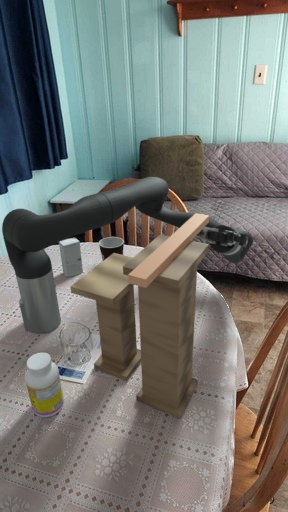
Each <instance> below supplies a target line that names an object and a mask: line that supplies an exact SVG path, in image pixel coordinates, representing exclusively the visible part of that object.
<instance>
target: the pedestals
mask: <svg viewBox="0 0 288 512" xmlns="http://www.w3.org/2000/svg"><path fill="white" fill-rule="evenodd" d="M169 237H170V236H169V235H163V234H159V235H158V236H157V237H155V238H154V239H153V240H152V241H151V242H149V243H148V244H147V245H146V246H145V247H144V248H142V250H140V251H139V252H138V253H137V254H136V255H134V256H129V255H125V254H123V255H121V254H116V253H113V254H112V255H110V256H109V257H108V258H107V259H105V260H104V261H103V260H102V262H100V263H99V264H97V265H96V266H94V267H93V268H92V269H91V270H90V271H88V272H86V274H85V275H83V276H82V277H80V278H79V279H78V280H76V282H74V283H73V284H72V285H70V293H71V294H73V295H76V296H80V297H84V298H87V299H90V300H94V301H95V306H96V313H97V314H96V315H97V323H98V325H97V326H98V333H99V340H100V341H99V342H100V352H101V355H100V356H99V357H98V359H97V360H96V361H95V362H94V363H93V369H94V370H97V371H100V372H102V373H105V374H107V375H110V376H112V377H115V378H117V379H120V380H122V381H124V382H128V380H130V378H131V377H132V375H133V374H134V373H135V371H136V370H137V368H139V366H140V365H141V388H140V389H139V391H137V394H136V396H135V398H136V401H137V402H139V403H142V404H143V405H146V406H148V407H151V408H153V409H155V410H157V411H160V412H163V413H165V414H167V415H169V416H171V417H174V418H176V419H178V420H180V419H181V417H182V415H183V413H184V411H185V409H186V407H187V406H188V403H189V401H190V399H191V398H192V396H193V394H194V391H195V390H196V387H197V386H198V382H199V381H198V379H197V378H194V377H193V362H194V359H193V358H194V341H195V340H194V339H195V338H194V337H195V323H196V322H195V321H196V319H195V317H196V297H197V278H198V275H197V274H198V265H199V264H200V263H201V261H202V260H203V259H204V258H205V257H206V255H208V253H209V250H210V249H209V248H210V245H209V243H204V242H200V241H194V240H191V241H190V242H189V243H188V245H187V246H186V247H185V248H184V249H183V250H182V251H181V252H180V253H179V254H178V255H177V256H176V257H175V258H174V259H173V260H172V261H171V262H170V263H169V264H168V265H167V266H166V268H165V269H164V270H163V271H162V272H161V273H160V274H159V275H158V276H157V277H156V278H155V279H154V280H153V281H152V282H151V283H150V284H149V285H148V286H147V287H146V288H144V287H141V286H137V295H138V297H137V298H138V315H139V317H138V318H139V338H140V339H139V342H140V349H138V347H137V345H138V344H137V327H136V309H135V307H136V306H135V288H134V287H135V285H133V284H130V283H129V281H128V274H130V273H131V272H132V271H133V270H134V269H135V268H136V267H137V266H138V265H139V264H141V263H142V262H143V261H144V260H145V259H146V258H147V257H148V256H149V255H150V254H152V253H153V252H154V251H155V250H156V249H157V248H158V247H159V246H160V245H161V244H163V243H164V242H165V241H166V240H167V239H168V238H169Z"/></svg>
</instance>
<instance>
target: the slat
mask: <svg viewBox="0 0 288 512" xmlns="http://www.w3.org/2000/svg"><path fill="white" fill-rule="evenodd" d="M194 213H195V214H194V215H193V216H192V217H191V218H190V219H189V220H188V221H187V222H186V223H184V224H183V225H182V226H181V227H180V228H178V229H177V230H176V231H174V232H173V233H172V234H171V235H170V236H169V238H168V239H167V240H166V241H165V242H164V243H163V244H161V245H160V246H159V247H158V248H157V249H156V250H155V251H154V252H153V253H152V254H150V255H149V256H148V257H147V258H146V259H145V260H144V261H143V262H142V263H141V264H139V265H138V266H137V267H136V268H135V269H134V270H133V271H132V272H131V273H130V274H128V281H129V283H130V284H133V285H134V286H137V287H138V286H141V287H144V288H146V287H147V286H148V285H149V284H150V283H151V282H152V281H153V280H154V279H155V278H156V277H157V276H158V275H159V274H160V273H161V272H162V271H163V270H164V269H165V268H166V266H167V265H168V264H169V263H170V262H171V261H172V260H173V259H174V258H175V257H176V256H177V255H178V254H179V253H180V252H181V251H182V250H183V249H184V248H185V247H186V246H187V245H188V243H189V242H190V241H193V240H194V237H195V236H196V235H197V234H198V233H199V232H200V231H201V230H202V229H203V228H204V227H205V226H206V225H207V224H208V223H209V218H210V215H208V214H203V213H199V214H198V212H194Z"/></svg>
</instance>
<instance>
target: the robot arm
mask: <svg viewBox="0 0 288 512" xmlns="http://www.w3.org/2000/svg"><path fill="white" fill-rule="evenodd" d="M169 190H170V187H169V185H168V183H167V181H166V180H164V179H163V178H161V177H158V176H147V177H143V178H141V179H138V180H136V181H133V182H131V183H129V184H126V185H123V186H120V187H116V188H113V189H110V190H106V191H101V192H97V193H92V194H89V195H86V196H83V197H81V198H79V199H78V200H77V201H75V202H74V203H73V204H71V205H70V206H69V207H68V208H66V209H65V210H62V211H61V210H60V211H59V212H53V213H50V214H42V215H41V214H37V213H35V212H33V211H31V210H28V209H26V208H16V209H13V210H11V211H9V212H8V213H7V214H6V215H5V217H4V218H3V221H2V226H1V232H2V233H1V234H2V237H3V241H4V245H5V249H6V252H7V257H8V260H9V263H10V264H11V266H12V268H13V270H14V274H15V277H16V282H17V287H18V291H19V295H20V299H19V301H18V304H19V309H20V314H21V318H22V322H23V326H24V331H28V332H31V333H33V334H46V333H50V332H52V331H54V330H56V329H57V328H58V327H59V326H60V325H61V323H62V318H61V317H62V316H61V312H60V306H59V301H58V295H57V290H56V289H57V288H56V284H55V276H54V269H53V265H52V261H51V260H52V259H51V257H50V255H48V254H47V252H46V250H45V249H47V248H49V247H51V246H53V245H55V244H59V242H60V241H63V240H66V239H70V238H72V237H74V236H77V235H80V234H83V233H86V232H89V231H92V230H96V229H99V228H103V227H104V226H105V227H106V226H107V225H110V224H113V223H115V222H116V221H118V220H119V219H120V218H122V217H124V215H126V214H127V213H128V212H129V211H130V210H132V209H133V208H134V207H135V209H136V210H137V211H139V213H141V214H143V215H145V216H147V217H150V218H152V219H155V220H158V221H160V222H162V223H165V224H168V225H171V226H173V227H176V228H178V229H179V228H180V227H181V226H182V225H183V224H184V223H186V222H187V221H188V220H189V219H190V218H191V217H192V216H193V215H194V214H195V213H196V212H188V211H185V212H184V211H176V210H173V209H170V208H168V207H167V206H165V205H164V203H165V201H166V200H167V198H168V195H169V192H170V191H169ZM197 213H198V212H197ZM198 214H200V212H199V213H198ZM194 238H195V239H199V240H201V241H204V242H206V243H207V244H209V248H211V249H212V250H213V251H215V252H216V253H219V254H221V255H222V256H223V258H224V259H225V261H226V260H227V261H228V262H230V263H232V264H240V263H241V262H242V261H243V260H244V259H245V257H246V255H247V254H248V252H249V250H250V249H251V247H252V245H253V244H254V238H253V236H252V234H250V233H249V232H247V231H245V230H242V229H237V228H234V227H232V226H230V225H229V224H221V223H220V222H218V221H216V220H214V219H212V218H211V217H209V223H208V224H207V225H206V226H205V227H204V228H203V229H202V230H201V231H200V232H199V233H198V234H197V235H196V236H195V237H194ZM194 238H193V239H194Z"/></svg>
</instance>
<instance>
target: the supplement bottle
mask: <svg viewBox="0 0 288 512" xmlns="http://www.w3.org/2000/svg"><path fill="white" fill-rule="evenodd" d="M26 367H27V370H26V372H25V374H24V382H25V384H26V388H27V392H28V397H29V400H30V405H31V408H32V412H33V413H34V414H35V415H36V416H37V417H40V418H50V417H53V416H55V415H57V414H58V413H59V412H60V411H61V410H62V408H63V407H64V403H65V396H64V391H63V387H62V381H61V376H60V371H59V367H58V365H57V364H56V363H54V361H52V356H51V355H50V354H49V353H47V352H37V353H33V354H32V355H31V356H30V357H29V358H28V359H27V360H26Z"/></svg>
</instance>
